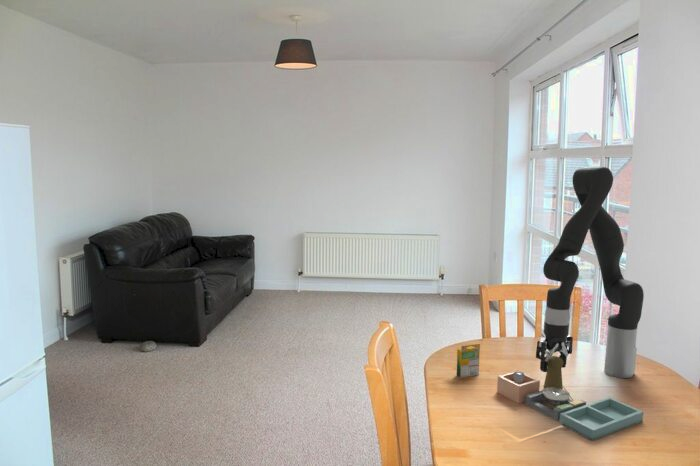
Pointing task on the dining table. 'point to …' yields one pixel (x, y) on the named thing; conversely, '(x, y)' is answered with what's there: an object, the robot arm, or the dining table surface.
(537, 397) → the checker cradle
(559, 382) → the olive gourd
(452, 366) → the dining table surface
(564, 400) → the silver domed disc
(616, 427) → the teal divided tray
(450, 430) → the dining table surface
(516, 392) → the cup
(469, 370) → the crayon box
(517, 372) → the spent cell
